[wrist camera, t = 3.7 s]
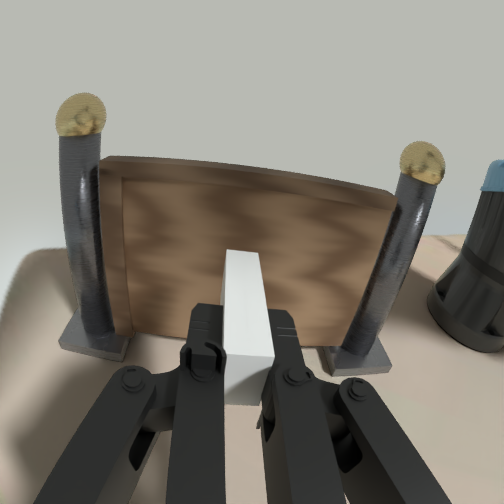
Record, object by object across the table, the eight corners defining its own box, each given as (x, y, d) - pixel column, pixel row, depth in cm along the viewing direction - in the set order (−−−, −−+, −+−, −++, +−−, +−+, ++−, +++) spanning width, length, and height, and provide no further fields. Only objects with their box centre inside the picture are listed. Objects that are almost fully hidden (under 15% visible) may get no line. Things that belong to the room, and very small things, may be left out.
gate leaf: (334, 338, 26) (386, 190, 20) (340, 351, 25) (398, 198, 18) (121, 321, 24) (109, 155, 18) (116, 334, 23) (99, 160, 16)
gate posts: (368, 331, 29) (433, 146, 20) (388, 372, 24) (479, 163, 15) (84, 307, 26) (68, 95, 17) (61, 348, 21) (23, 98, 11)
